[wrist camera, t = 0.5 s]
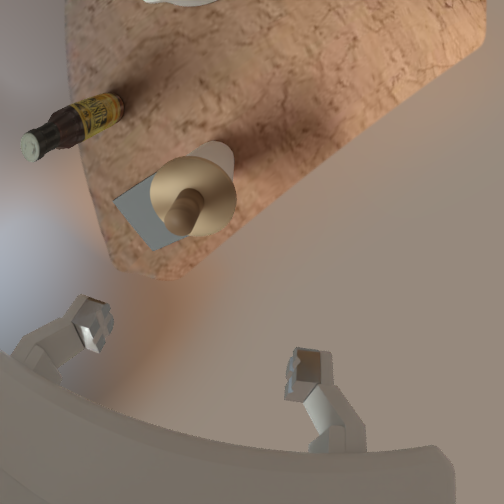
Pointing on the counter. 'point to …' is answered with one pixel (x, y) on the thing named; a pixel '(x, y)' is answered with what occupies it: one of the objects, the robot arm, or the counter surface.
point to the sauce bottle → (73, 125)
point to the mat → (145, 215)
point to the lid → (193, 196)
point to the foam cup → (217, 155)
